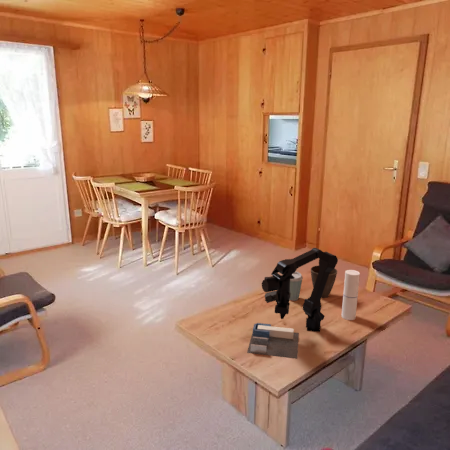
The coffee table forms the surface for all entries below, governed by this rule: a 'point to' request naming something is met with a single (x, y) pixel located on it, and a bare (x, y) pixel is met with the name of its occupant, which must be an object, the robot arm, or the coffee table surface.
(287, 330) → the long cream bar
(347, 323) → the coffee table surface
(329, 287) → the plant pot
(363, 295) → the coffee table surface
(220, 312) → the coffee table surface
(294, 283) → the disposable coffee cup
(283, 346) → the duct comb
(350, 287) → the cylindrical container
